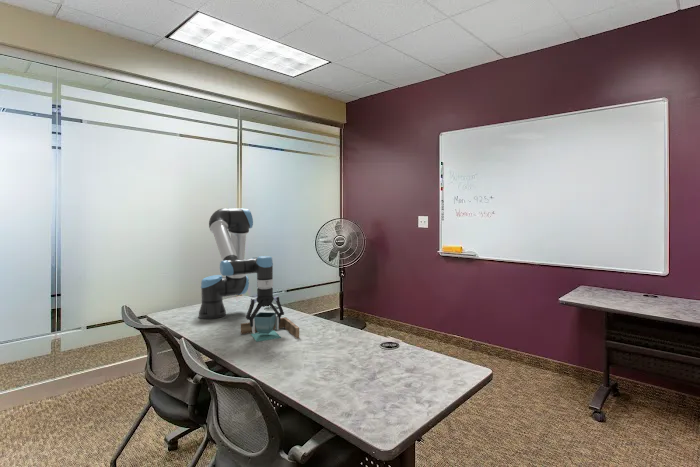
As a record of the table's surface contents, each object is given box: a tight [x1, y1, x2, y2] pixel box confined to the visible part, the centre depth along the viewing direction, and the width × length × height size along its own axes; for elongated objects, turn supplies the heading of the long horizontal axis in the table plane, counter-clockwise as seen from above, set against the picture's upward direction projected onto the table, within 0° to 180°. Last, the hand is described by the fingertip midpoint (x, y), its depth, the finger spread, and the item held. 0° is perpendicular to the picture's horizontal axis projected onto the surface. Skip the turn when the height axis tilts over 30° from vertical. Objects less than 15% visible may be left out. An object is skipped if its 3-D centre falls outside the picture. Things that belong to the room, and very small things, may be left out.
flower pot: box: [254, 312, 277, 334], centre depth 181 cm, size 9×9×9 cm
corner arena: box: [240, 316, 300, 339], centre depth 183 cm, size 20×24×5 cm
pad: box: [250, 329, 282, 343], centre depth 182 cm, size 12×12×1 cm
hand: (265, 331), depth 182 cm, fingers open, 11 cm apart
